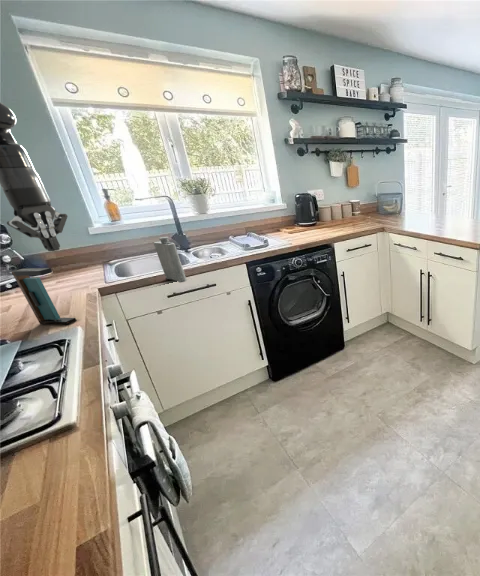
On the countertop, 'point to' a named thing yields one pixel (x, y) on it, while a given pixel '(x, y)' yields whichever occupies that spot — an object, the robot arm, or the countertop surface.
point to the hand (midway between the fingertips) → (54, 250)
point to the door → (41, 298)
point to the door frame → (19, 277)
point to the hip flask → (169, 259)
